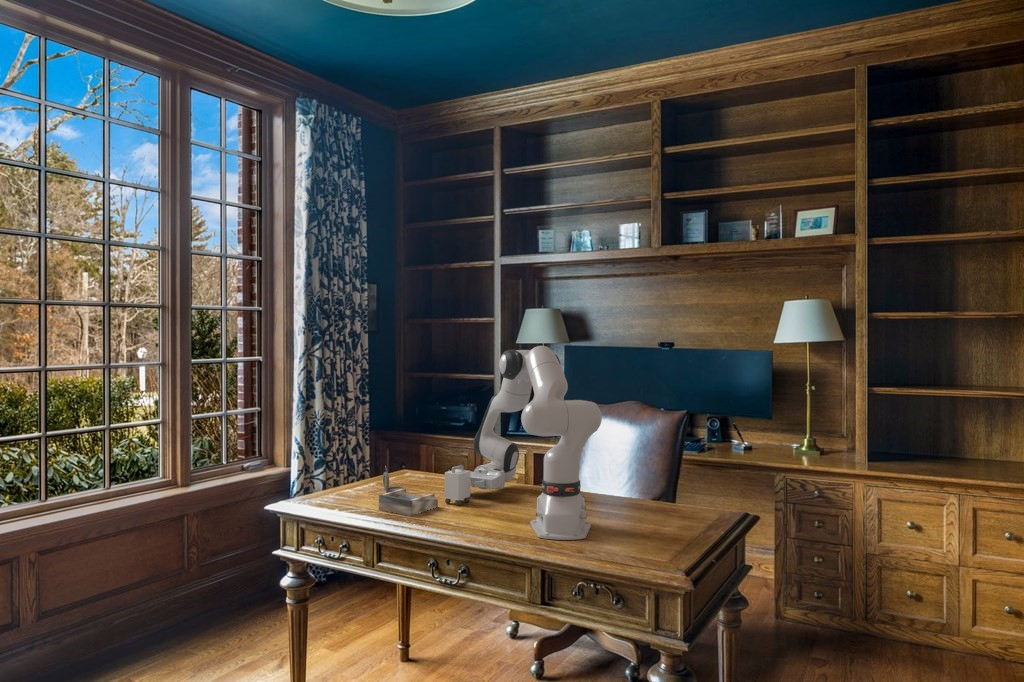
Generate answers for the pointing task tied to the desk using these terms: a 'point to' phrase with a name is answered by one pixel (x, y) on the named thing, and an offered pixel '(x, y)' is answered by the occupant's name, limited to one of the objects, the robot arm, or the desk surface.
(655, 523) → the desk surface
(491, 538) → the desk surface
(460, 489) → the trolley
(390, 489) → the pocket watch
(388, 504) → the dock
